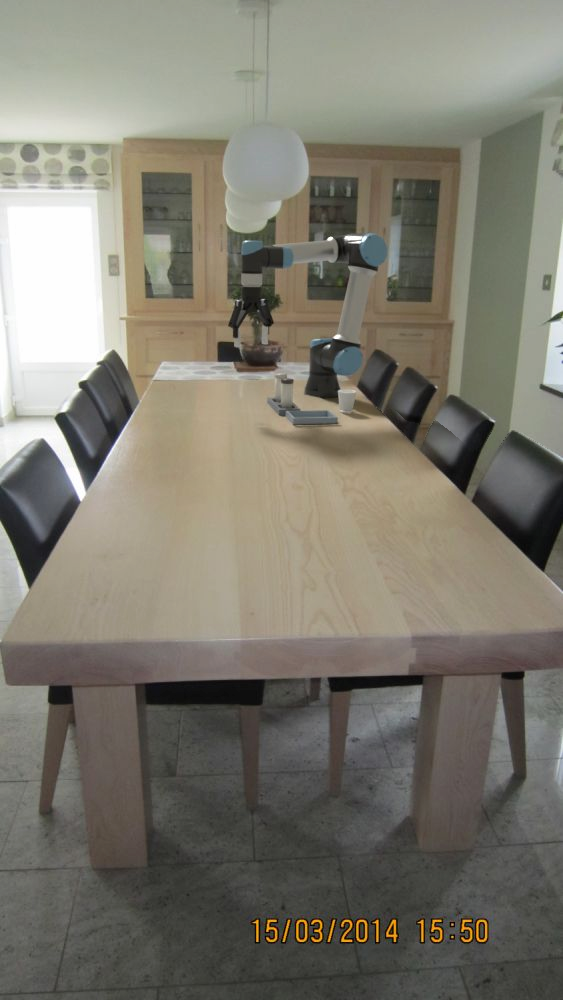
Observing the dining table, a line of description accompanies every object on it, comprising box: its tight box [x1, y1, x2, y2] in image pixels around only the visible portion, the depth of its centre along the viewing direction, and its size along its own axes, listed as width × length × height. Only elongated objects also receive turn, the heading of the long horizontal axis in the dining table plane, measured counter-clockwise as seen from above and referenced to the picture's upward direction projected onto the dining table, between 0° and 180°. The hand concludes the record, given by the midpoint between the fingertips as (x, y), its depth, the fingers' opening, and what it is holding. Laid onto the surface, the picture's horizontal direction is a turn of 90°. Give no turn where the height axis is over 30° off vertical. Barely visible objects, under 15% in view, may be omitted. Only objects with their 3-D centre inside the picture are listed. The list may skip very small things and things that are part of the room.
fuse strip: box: [266, 397, 302, 416], centre depth 282 cm, size 8×22×2 cm, turn 12°
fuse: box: [274, 372, 288, 402], centre depth 285 cm, size 5×5×12 cm
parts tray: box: [285, 409, 339, 426], centre depth 266 cm, size 16×12×2 cm
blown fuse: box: [281, 377, 295, 408], centre depth 275 cm, size 5×5×12 cm
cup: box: [337, 389, 357, 415], centre depth 281 cm, size 7×10×8 cm
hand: (251, 345), depth 276 cm, fingers open, 13 cm apart
